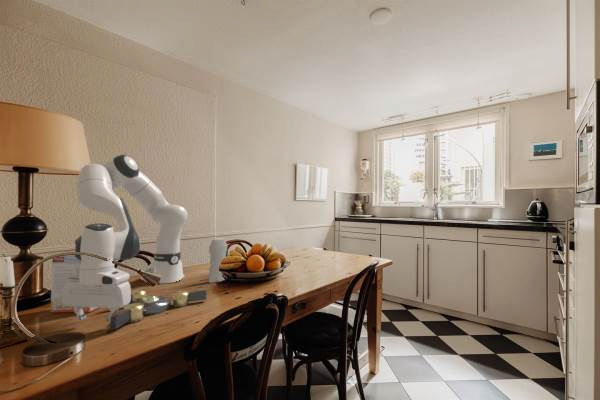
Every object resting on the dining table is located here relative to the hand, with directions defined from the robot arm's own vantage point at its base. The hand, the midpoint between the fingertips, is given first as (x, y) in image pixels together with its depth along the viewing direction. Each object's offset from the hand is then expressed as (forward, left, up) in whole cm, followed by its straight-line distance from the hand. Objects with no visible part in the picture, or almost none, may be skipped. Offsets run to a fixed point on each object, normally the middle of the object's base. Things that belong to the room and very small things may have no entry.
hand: (95, 320), depth 86 cm
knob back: (-12, +15, -2) cm, 19 cm away
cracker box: (-23, +2, -2) cm, 23 cm away
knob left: (+5, +30, -2) cm, 30 cm away
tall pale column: (-13, +58, -2) cm, 60 cm away
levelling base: (-2, +18, -2) cm, 18 cm away
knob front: (+5, +7, -2) cm, 9 cm away
